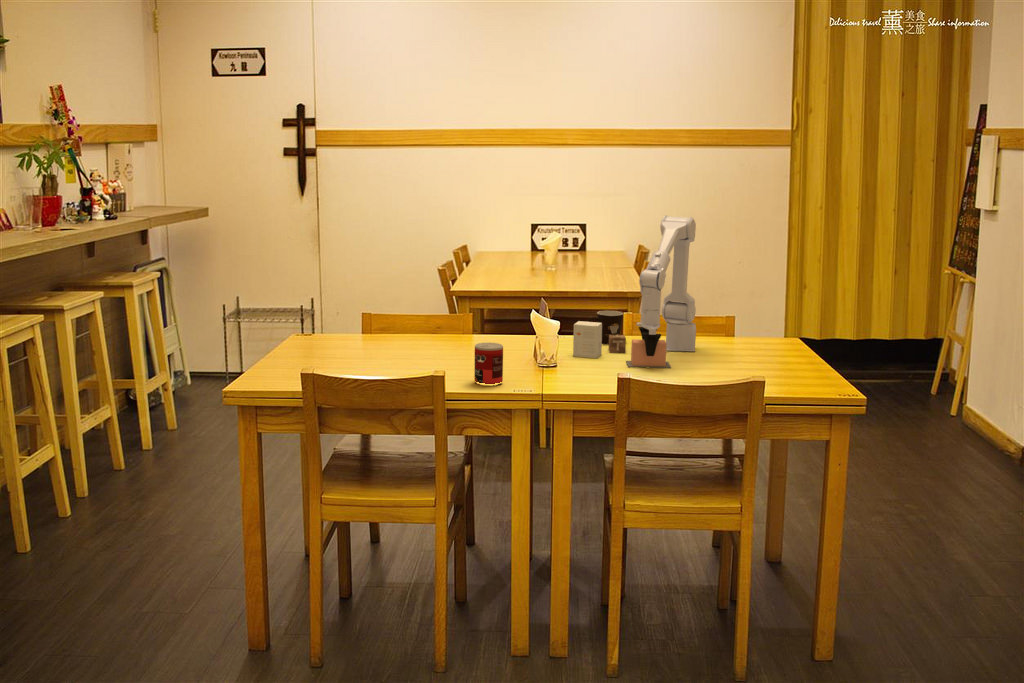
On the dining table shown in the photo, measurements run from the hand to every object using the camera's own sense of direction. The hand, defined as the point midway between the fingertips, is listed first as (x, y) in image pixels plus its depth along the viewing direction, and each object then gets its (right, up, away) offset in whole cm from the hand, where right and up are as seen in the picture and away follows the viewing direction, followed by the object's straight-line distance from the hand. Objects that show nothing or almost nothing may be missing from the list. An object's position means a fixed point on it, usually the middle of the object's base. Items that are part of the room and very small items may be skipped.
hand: (648, 352), depth 316 cm
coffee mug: (-11, +3, +31) cm, 33 cm away
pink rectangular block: (0, -3, +1) cm, 3 cm away
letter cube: (-8, 0, +18) cm, 20 cm away
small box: (-18, -1, +12) cm, 21 cm away
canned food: (-48, -9, -23) cm, 54 cm away
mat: (0, -4, +1) cm, 4 cm away
